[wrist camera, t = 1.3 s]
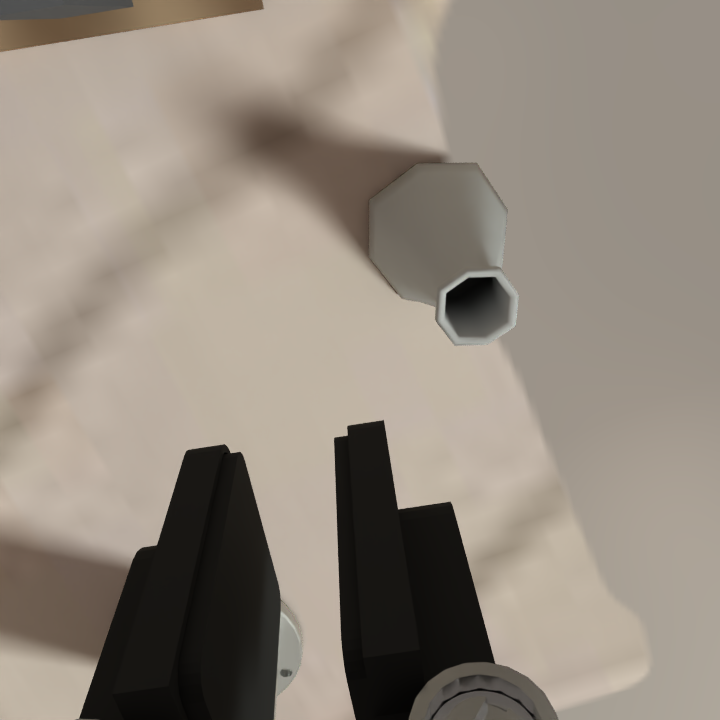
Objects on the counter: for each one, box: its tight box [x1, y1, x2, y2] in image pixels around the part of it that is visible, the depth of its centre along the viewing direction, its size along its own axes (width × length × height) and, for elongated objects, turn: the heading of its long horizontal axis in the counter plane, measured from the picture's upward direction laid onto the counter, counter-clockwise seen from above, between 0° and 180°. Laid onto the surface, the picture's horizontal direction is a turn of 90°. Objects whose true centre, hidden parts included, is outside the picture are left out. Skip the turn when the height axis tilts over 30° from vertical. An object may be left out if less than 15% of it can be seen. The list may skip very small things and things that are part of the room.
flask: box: [369, 163, 519, 346], centre depth 30 cm, size 7×7×10 cm
